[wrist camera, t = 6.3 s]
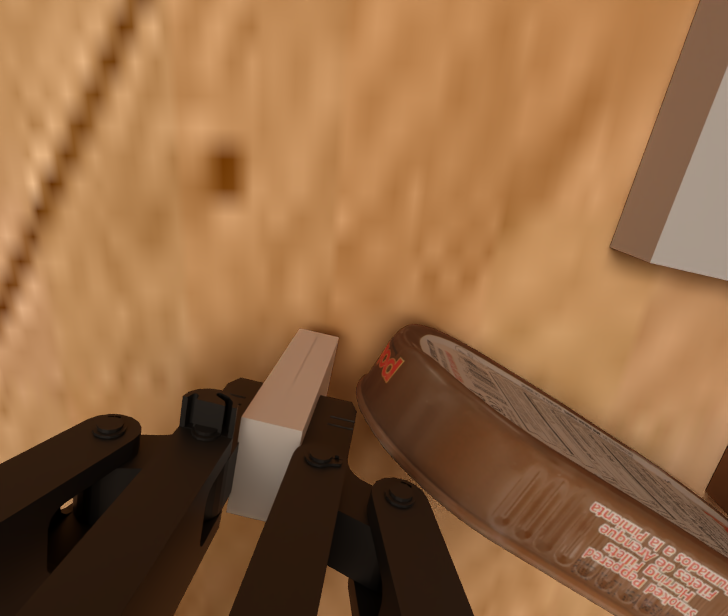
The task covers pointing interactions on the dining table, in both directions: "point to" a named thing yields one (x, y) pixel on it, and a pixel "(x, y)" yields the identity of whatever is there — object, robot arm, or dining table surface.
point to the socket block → (686, 161)
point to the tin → (545, 480)
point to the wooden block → (720, 483)
